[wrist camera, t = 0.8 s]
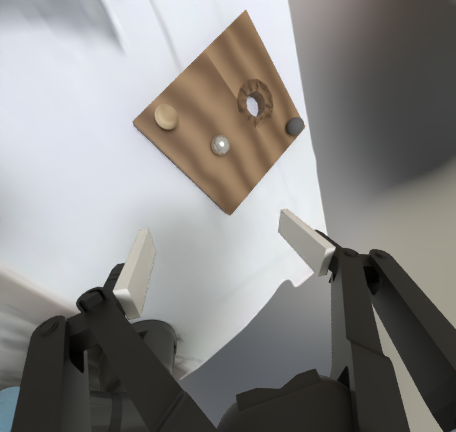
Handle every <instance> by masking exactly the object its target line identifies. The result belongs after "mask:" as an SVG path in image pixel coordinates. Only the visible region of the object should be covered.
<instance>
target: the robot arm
mask: <svg viewBox="0 0 456 432" xmlns="http://www.w3.org/2000/svg"><path fill="white" fill-rule="evenodd" d="M278 232H279V233H280V234H281V236H282V237H283V238H284V239H285V240H286V241H287V242H288V243H289V245H290V246H291V247H292V248H293V249H294V250H295V251H296V252H297V254H298V255H299V256H300V257H301V258H302V259H303V260H304V261H305V262H306V264H307V265H308V266H309V267H310V268H311V269H312V270H313V271H314V273H315V274H316V275H317V276H318V277H319V276H323V275H327V272H328V269H329V270H330V271H331V272H332V274H331V278H330V280H329V283H331V321H332V323H331V326H332V327H331V328H332V368H331V373H330V377H327V376H323V375H319V374H318V373H317V371H316V369H312V370H309V371H306V372H303V373H300V374H298V375H296V376H295V377H294V378H292V379H291V380H290V381H289V382H288V383H287V384H285V385H284V386H283V387H282V388H280V389H269V388H255V389H252V390H249V391H247V392H243V393H241V394H237V395H236V402H235V403H234V404H232V406H231V407H230V408H229V409H228V410H227V411H226V413H225V414H224V415H223V417H222V419H221V421H220V423H219V425H218V427H217V429H216V428H215V426H214V425H213V424H212V423H211V422H210V420H209V419H208V418H207V417H206V415H205V414H204V413H203V412H202V410H201V409H200V408H199V407H198V405H197V404H196V403H195V402H194V400H193V399H192V398H191V397H190V396H189V394H188V393H187V392H185V391H184V390H183V389H182V388H181V387H180V386H179V384H178V383H177V382H176V381H175V379H174V378H173V377H172V372H173V366H174V361H175V354H176V349H177V343H176V336H175V332H174V330H173V329H172V327H171V326H169V325H168V324H166V323H164V322H162V321H157V320H147V321H141V322H137V323H134V324H132V325H131V324H130V323H129V321H128V320H130V319H134V318H139V317H141V314H142V310H143V306H144V301H145V297H146V293H147V289H148V284H149V280H150V276H151V272H152V267H153V263H154V259H155V255H156V250H155V247H154V244H153V241H152V238H151V234H150V231H149V229H143V230H140V231H139V233H138V235H137V238H136V240H135V242H134V244H133V247H132V249H131V251H130V253H129V256H128V258H127V260H126V262H125V263H122V264H117V265H116V266H115V267H114V268H113V269H112V271H111V273H110V275H109V277H108V279H107V281H106V282H105V284H104V286H103V287H96V288H92V289H90V290H88V291H86V292H85V293H84V294H82V295H81V296H80V297H79V298H78V300H77V302H76V306H77V308H78V309H79V310H80V312H81V313H80V314H77V315H75V316H73V317H70V318H68V319H66V318H65V317H64V316H55V317H52V318H50V319H48V320H46V321H45V322H43V323H42V324H41V325H40V326H38V327H37V328H36V330H35V331H34V332H33V334H32V336H31V339H30V343H29V348H28V353H27V357H26V362H25V367H24V371H23V376H22V381H21V385H20V387H10V388H6V389H4V390H2V391H0V432H410V429H409V425H408V421H407V417H406V413H405V410H404V406H403V402H402V399H401V394H400V390H399V387H398V383H397V379H396V375H395V371H394V367H393V364H392V362H391V360H390V358H389V357H387V356H385V355H384V354H383V351H382V347H381V343H380V339H379V334H378V330H377V326H376V321H375V317H374V313H373V308H372V304H373V306H374V308H375V310H376V312H377V314H378V316H379V318H380V319H381V321H382V323H383V325H384V327H385V329H386V331H387V332H388V334H389V336H390V338H391V340H392V342H393V344H394V346H395V347H396V349H397V351H398V353H399V355H400V357H401V359H402V360H403V362H404V364H405V366H406V368H407V370H408V372H409V374H410V375H411V377H412V379H413V381H414V383H415V385H416V387H417V389H418V390H419V392H420V394H421V396H422V398H423V400H424V401H425V403H426V405H427V406H428V408H429V410H430V412H431V413H432V415H433V417H434V418H435V420H436V421H437V423H438V424H439V426H440V427H441V429H442V430H443V432H456V329H455V328H454V327H453V326H452V325H451V324H450V322H449V321H448V320H447V319H446V318H445V317H444V316H443V314H442V313H441V312H440V311H439V310H438V309H437V307H436V306H435V305H434V304H433V303H432V302H431V301H430V299H429V298H428V297H427V296H426V295H425V294H424V293H423V291H422V290H421V289H420V288H419V287H418V286H417V285H416V283H415V282H414V281H413V280H412V279H411V278H410V276H408V274H407V273H406V272H405V271H404V270H403V269H402V267H401V266H400V265H399V264H398V263H397V262H396V260H394V258H393V257H392V256H391V255H390V254H388V253H386V252H385V251H382V250H377V249H372V250H370V252H369V254H368V255H366V254H359V253H357V252H356V251H354V250H352V249H349V248H342V247H341V246H339V245H338V244H337V243H335V242H334V241H333V240H331V239H330V238H329V237H328V236H326V235H325V234H324V233H322V232H320V231H318V230H313V229H312V228H311V227H310V226H308V225H307V224H306V223H305V222H303V221H302V220H301V219H299V218H298V217H297V216H296V215H294V214H293V213H292V212H291V211H289V210H288V209H283V210H281V212H280V220H279V229H278ZM371 303H372V304H371ZM125 315H126V317H127V319H128V320H127V319H126V318H125ZM97 344H100V346H101V347H102V349H103V351H102V353H101V357H100V361H99V365H98V376H99V382H100V391H89V376H88V358H87V349H89V348H91V347H93V346H95V345H97Z"/></svg>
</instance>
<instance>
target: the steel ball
mask: <svg viewBox="0 0 456 432" xmlns="http://www.w3.org/2000/svg"><path fill="white" fill-rule="evenodd" d="M211 146H212V150H213V151H214V152H215V153H216V154H218V155H225V154H226V153H227V152H228V151H229V149H230V141H229V139H228V138H227V137H226V136H224V135H217V136H215V137H214V138H213V140H212V143H211Z"/></svg>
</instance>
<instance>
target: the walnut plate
mask: <svg viewBox="0 0 456 432" xmlns="http://www.w3.org/2000/svg"><path fill="white" fill-rule="evenodd" d="M247 96H251V97H253V98H255V100H256V102H257V103H258V109H259V111H258V115H257V116H256V117H255V116H253V115H251V114H250V112H249V111H248V109H247V104H246V101H247ZM162 104H167V105H170V106H172V107H173V108H174V109H175V111H176V112H177V115H178V123H177V126H176V127H175V128H173V129H171V130H166V129H163V128H161V127H160V126H159V125H158V123H157V122H156V120H155V110H156V108H157V107H158V106H159V105H162ZM294 117H299V118H301V117H300V115H299V113H298V112H297V110H296V108H295V106H294V104H293V102H292V100H291V98H290V96H289V94H288V92H287V90H286V88H285V86H284V84H283V82H282V80H281V78H280V76H279V74H278V72H277V70H276V68H275V66H274V64H273V62H272V60H271V58H270V56H269V54H268V52H267V50H266V48H265V46H264V44H263V42H262V40H261V38H260V36H259V34H258V32H257V30H256V29H255V27H254V25H253V23H252V21H251V19H250V17H249V15H248V13H247V11H246V10H245V11H244V12H243V13H242V14H241V15H240V16H239V17H238V18H237V19H236V20H235V21H234V22H233V23H232V24H231V25H230V26H229V27H228V28H227V29H226V30H225V31H224V32H223V33H222V34H221V35H219V36H218V37H217V38H216V39H215V40H214V41H213V42H212V43H211V44H210V45H209V46H208V47H207V48H206V49H205V50H204V51H203V52H202V53H201V54H200V55H199V56H198V57H197V58H196V59H195V60H194V61H193V62H192V63H191V64H190V65H189V66H188V67H187V68H186V69H185V70H184V71H183V72H182V73H181V74H180V75H179V76H178V77H177V78H176V79H175V80H174V81H173V82H172V83H171V84H170V85H169V86H168V87H167V88H166V89H165V90H164V91H163V92H162V93H161V94H160V95H159V96H158V97H157V98H156V99H155V100H154V101H153V102H152V103H151V104H150V105H149V106H148V107H147V108H146V109H145V110H144V111H143V112H142V113H141V114H140V115H139V116H138V117H137V118H136V119H135V120H134V121H133V124H134V126H135V127H136V128H137V129H138V130H139V131H140V132H141V133H142V134H143V135H144V136H145V137H146V138H148V139H149V140H150V141H151V142H152V143H153V144H154V145H155V146H156V147H157V148H158V149H159V150H160V151H161V152H162V153H163V154H164V155H165V156H166V157H167V158H169V159H170V160H171V161H172V162H173V163H174V164H175V165H176V166H177V167H178V168H179V169H180V170H181V171H182V172H183V173H184V174H185V175H186V176H187V177H188V178H189V179H191V180H192V181H193V182H194V183H195V184H196V185H197V186H198V187H199V188H200V189H201V190H202V191H203V192H204V193H205V194H206V195H207V196H208V197H209V198H210V199H211V200H213V201H214V202H215V203H216V204H217V205H218V206H219V207H220V208H221V209H222V210H223V211H224V212H225V213H226V214H228V215H231V214H232V213H233V212H234V211H235V210H236V208H237V207H238V206H239V205H240V204H241V202H242V201H243V200H244V199H245V198H246V197H247V195H248V194H249V193H250V192H251V191H252V190H253V188H254V187H255V186H256V185H257V184H258V182H259V181H260V180H261V179H262V178H263V177H264V175H265V174H266V173H267V172H268V171H269V169H270V168H271V167H272V166H273V165H274V164H275V162H276V161H277V160H278V159H279V158H280V156H281V155H282V154H283V153H284V152H285V151H286V149H287V148H288V147H289V146H290V145H291V143H292V142H293V141H294V140H295V139H296V138H297V136H298V135H299V134H300V133H301V132H302V131H301V132H300V133H299V134H297V135H291V134H289V133H288V131H287V124H288V122H289V121H290V120H291V119H292V118H294ZM304 128H305V125H304V127H303V129H304ZM217 135H224V136H226V137H227V138H228V139H229V141H230V149H229V151H228V152H227V153H226V154H225V155H218V154H216V153H215V152H214V151H213V150H212V146H211V143H212V140H213V138H214V137H215V136H217Z"/></svg>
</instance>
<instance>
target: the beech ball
mask: <svg viewBox="0 0 456 432" xmlns="http://www.w3.org/2000/svg"><path fill="white" fill-rule="evenodd" d="M155 120H156V122H157V123H158V125H159V126H160V127H161V128H163V129H166V130H171V129H173V128H175V127H176V126H177V123H178V115H177V112H176V111H175V109H174V108H173V107H172V106H170V105H167V104H162V105H159V106H158V107H157V108H156V110H155Z"/></svg>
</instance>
